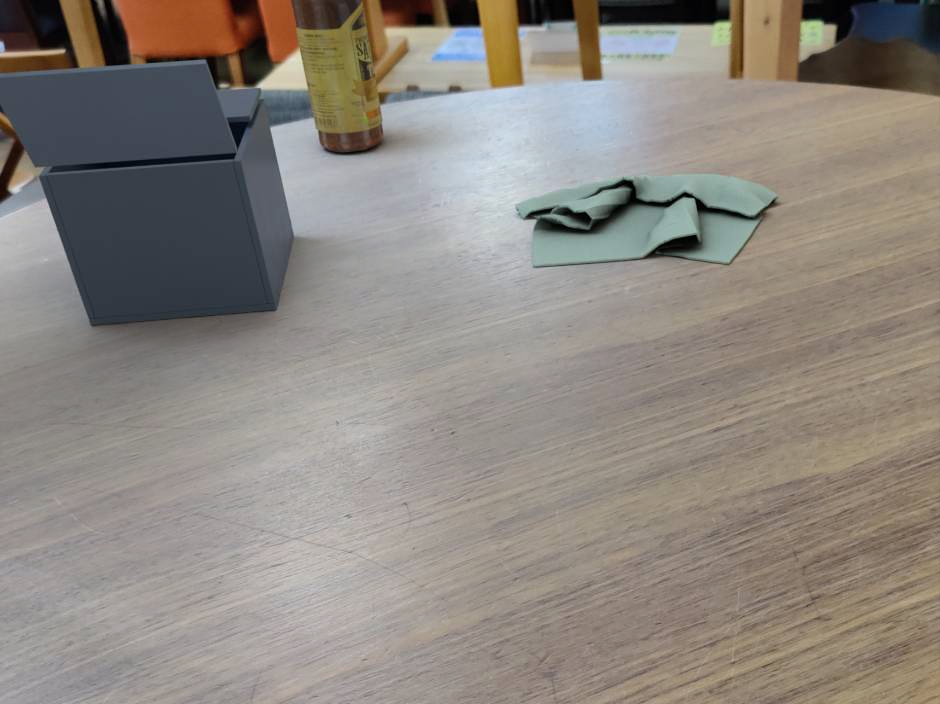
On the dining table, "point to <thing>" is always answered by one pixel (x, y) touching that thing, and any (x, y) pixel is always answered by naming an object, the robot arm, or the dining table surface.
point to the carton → (178, 227)
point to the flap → (116, 113)
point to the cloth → (646, 219)
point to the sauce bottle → (339, 73)
